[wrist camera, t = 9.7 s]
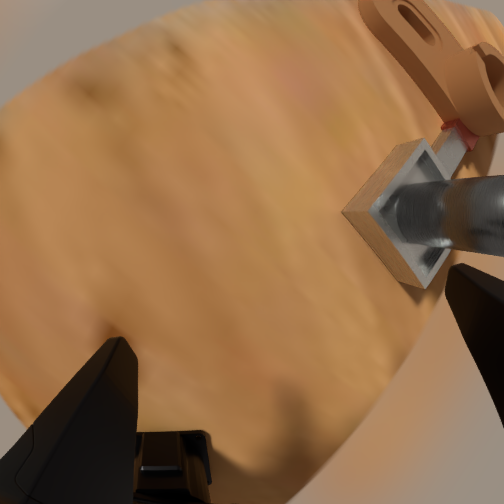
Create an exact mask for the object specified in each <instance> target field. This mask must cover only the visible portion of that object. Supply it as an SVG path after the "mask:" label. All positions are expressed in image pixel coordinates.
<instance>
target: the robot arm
mask: <svg viewBox="0 0 504 504" xmlns="http://www.w3.org/2000/svg"><path fill="white" fill-rule="evenodd" d="M445 296H446V299H447V300H448V303H449V305H450V308H451V310H452V312H453V315H454V317H455V319H456V322H457V324H458V326H459V329H460V331H461V334H462V336H463V338H464V340H465V342H466V344H467V347H468V348H469V351H470V353H471V355H472V357H473V359H474V361H475V363H476V365H477V367H478V369H479V370H480V373H481V375H482V377H483V380H484V382H485V384H486V386H487V388H488V390H489V393H490V395H491V398H492V400H493V402H494V405H495V407H496V409H497V412H498V414H499V417H500V419H501V422H502V425H503V427H504V281H502V280H500V279H498V278H496V277H494V276H491V275H489V274H487V273H484V272H482V271H480V270H478V269H476V268H473V267H471V266H469V265H466V264H464V263H460V264H456V265H453V266H451V267H450V269H449V271H448V276H447V281H446V286H445ZM137 419H138V359H137V357H136V355H135V353H134V352H133V350H132V348H131V347H130V345H129V344H128V342H127V341H126V339H125V338H124V337H121V336H119V337H111V338H109V339H108V340H107V341H106V342H105V343H104V344H103V345H102V346H101V347H100V348H99V349H98V350H97V351H96V353H95V354H94V355H93V356H92V357H91V358H90V359H89V360H88V361H87V362H86V363H85V365H84V366H83V367H82V368H81V369H80V370H79V371H78V372H77V373H76V374H75V376H74V377H73V378H72V379H71V380H70V381H69V382H68V383H67V384H66V386H65V387H64V388H63V389H62V390H61V391H60V392H59V393H58V395H57V396H56V397H55V398H54V399H53V400H52V401H51V403H50V404H49V405H48V406H47V407H46V408H45V409H44V411H43V412H42V413H41V414H40V415H39V416H38V418H37V419H36V420H35V421H34V422H33V424H32V425H31V426H30V427H29V428H28V429H27V431H26V432H25V433H24V434H23V435H22V436H21V438H20V439H19V440H18V441H17V442H16V443H15V445H14V446H13V447H12V448H11V449H10V450H9V451H8V452H7V453H6V454H5V455H4V456H3V457H2V458H1V459H0V504H212V503H211V501H210V496H209V490H208V485H210V484H211V483H212V480H211V473H210V467H209V460H208V453H207V446H206V439H205V434H204V432H203V431H201V430H193V431H175V432H136V431H137ZM196 436H201V437H196Z"/></svg>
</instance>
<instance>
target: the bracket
mask: <svg viewBox="0 0 504 504" xmlns="http://www.w3.org/2000/svg"><path fill="white" fill-rule="evenodd" d="M358 8H359V12H360V15H361V17H362V19H363V21H364V23H365V24H366V26H367V27H368V29H369V30H370V31H371V32H372V34H373V35H374V36H375V37H376V38H377V39H378V40H379V41H380V42H381V43H382V44H383V45H384V46H385V48H386V49H387V50H388V51H389V52H390V53H391V54H392V55H393V57H394V58H395V59H396V60H397V61H398V62H399V63H400V65H401V66H402V67H403V68H404V69H405V71H406V72H407V73H408V74H409V76H410V77H411V78H412V79H413V81H414V82H415V83H416V84H417V86H418V87H419V88H420V90H421V91H422V92H423V94H424V95H425V96H426V98H427V99H428V100H429V102H430V103H431V104H432V106H433V107H434V109H435V110H436V112H437V113H438V114H439V116H440V117H441V119H442V120H443V122H447V121H451V120H454V119H458V118H459V119H460V120H461V121H462V123H463V124H464V125H465V126H466V127H467V128H468V129H469V130H470V131H471V132H472V133H474V134H475V135H478V136H480V137H482V136H487V135H493V134H498V133H503V132H504V57H503V56H502V54H501V53H500V52H499V51H498V50H497V49H496V48H495V47H493V46H492V45H490V44H488V43H486V42H481V43H479V44H476V45H474V46H472V47H470V48H468V49H466V50H464V49H463V48H462V47H461V45H460V44H459V43H458V41H457V40H456V39H455V37H454V36H453V35H452V34H451V32H450V31H449V30H448V29H447V27H446V26H445V25H444V24H443V23H442V21H441V20H440V19H439V18H438V17H437V15H436V14H435V13H434V12H433V11H432V10H431V9H430V8H429V6H428V5H427V4H426V3H425V2H424V1H423V0H358Z"/></svg>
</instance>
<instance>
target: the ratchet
mask: <svg viewBox="0 0 504 504" xmlns="http://www.w3.org/2000/svg"><path fill="white" fill-rule="evenodd" d="M441 129H442V132H441V133H440V135H439V136H438V137H437V139H436V140H435V142H434V143H433V145H432V146H431V147H430V146H429V144H428V143H427V141H426V140H425V138H421V139H418V140H414V141H411V142H407V143H403V144H400V145H396V146H395V148H394V149H393V150H392V151H391V153H390V154H389V155H388V156H387V157H386V159H385V160H384V161H383V162H382V164H381V165H380V166H379V167H378V168H377V170H376V171H375V172H374V173H373V174H372V176H371V177H370V178H369V179H368V180H367V182H366V183H365V184H364V185H363V186H362V188H361V189H360V190H359V191H358V192H357V194H356V195H355V196H354V197H353V198H352V199H351V201H350V202H349V203H348V204H347V205H346V207H345V208H344V209H343V210H342V211H341V212H342V213H343V214H344V215H345V217H346V218H347V219H348V220H349V221H350V223H351V224H352V225H353V226H354V227H355V228H356V230H357V231H358V232H359V233H360V234H361V236H362V237H363V238H364V239H365V240H366V242H367V243H368V244H369V245H370V247H371V248H372V249H373V250H374V252H375V253H376V254H377V255H378V257H379V258H380V259H381V260H382V262H383V263H384V264H385V265H386V267H387V268H388V269H389V270H390V272H391V273H392V274H393V276H394V277H395V278H396V280H397V281H399V282H403V283H406V284H409V285H413V286H416V287H419V288H423V289H426V288H427V286H428V285H429V283H430V282H431V280H432V279H433V277H434V276H435V274H436V273H437V271H438V270H439V268H440V267H441V265H442V264H443V262H444V261H445V259H446V257H447V256H448V254H449V253H450V251H451V249H447V248H439V247H432V246H425V245H417V244H413V243H410V242H409V241H408V240H406V239H405V237H404V236H403V235H402V233H401V231H400V229H399V227H398V223H397V217H396V208H397V202H398V199H399V196H400V194H401V193H402V191H403V190H404V189H405V188H406V187H407V186H409V185H411V184H414V183H422V182H432V181H441V180H451V176H452V174H453V173H454V171H455V169H456V168H457V166H458V164H459V163H460V161H461V159H462V157H463V156H464V154H465V152H468V151H472V150H473V148H474V146H475V144H476V143H477V141H478V139H479V137H480V136H478V135H475V134H474V133H472V132H471V131H470V130H469V129H468V128H467V127H466V126H465V125H464V124H463V123H462V121H461V120H460V119H459V118H458V119H454V120H451V121H447V122H444V123H443V125H442V126H441Z"/></svg>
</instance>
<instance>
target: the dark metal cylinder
mask: <svg viewBox="0 0 504 504" xmlns="http://www.w3.org/2000/svg"><path fill="white" fill-rule="evenodd" d="M396 217H397V223H398V227H399V229H400V231H401V233H402V235H403V236H404V237H405V239H406V240H408V241H409V242H410V243H413V244H417V245H425V246H432V247H439V248H447V249H454V250H461V251H467V252H475V253H481V254H488V255H494V256H501V257H504V175H497V176H485V177H473V178H462V179H451V180H441V181H432V182H422V183H414V184H411V185H409V186H407V187H406V188H405V189H404V190H403V191H402V193H401V194H400V196H399V199H398V202H397V208H396Z"/></svg>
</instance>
